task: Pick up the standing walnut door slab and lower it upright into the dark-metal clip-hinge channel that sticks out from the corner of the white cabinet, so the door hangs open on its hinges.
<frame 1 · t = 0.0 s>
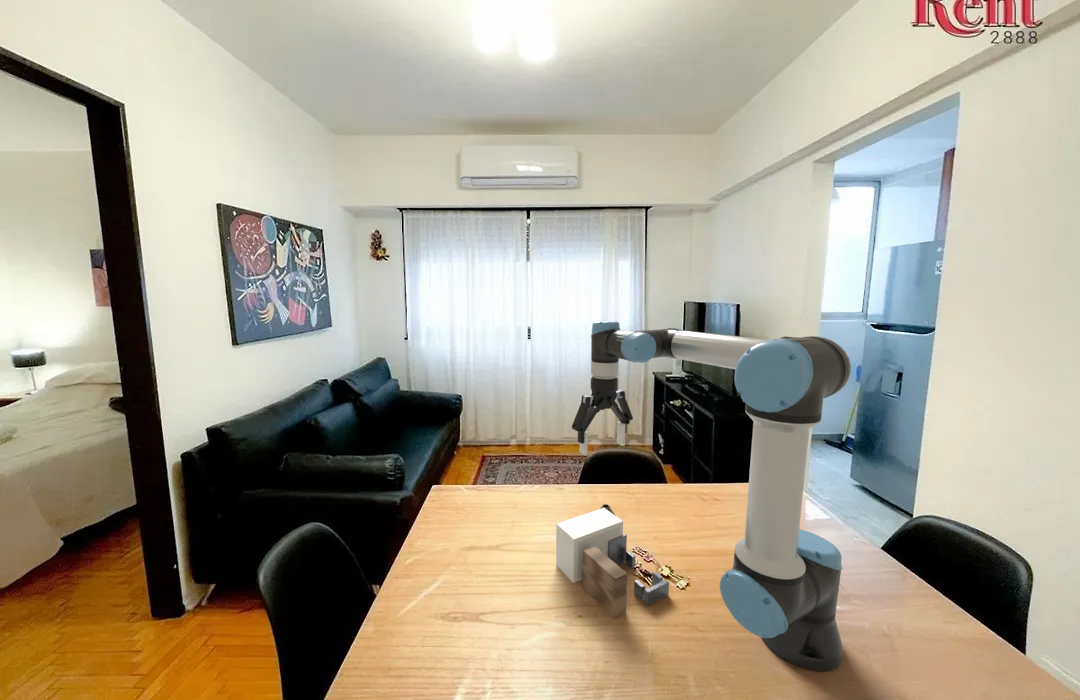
hand: (602, 449, 119), 28 cm above the table, fingers open, 13 cm apart
hinge channel: (634, 580, 105), on the table
door: (603, 599, 99), on the table
cabinet: (589, 563, 112), on the table
vase: (605, 533, 126), on the table
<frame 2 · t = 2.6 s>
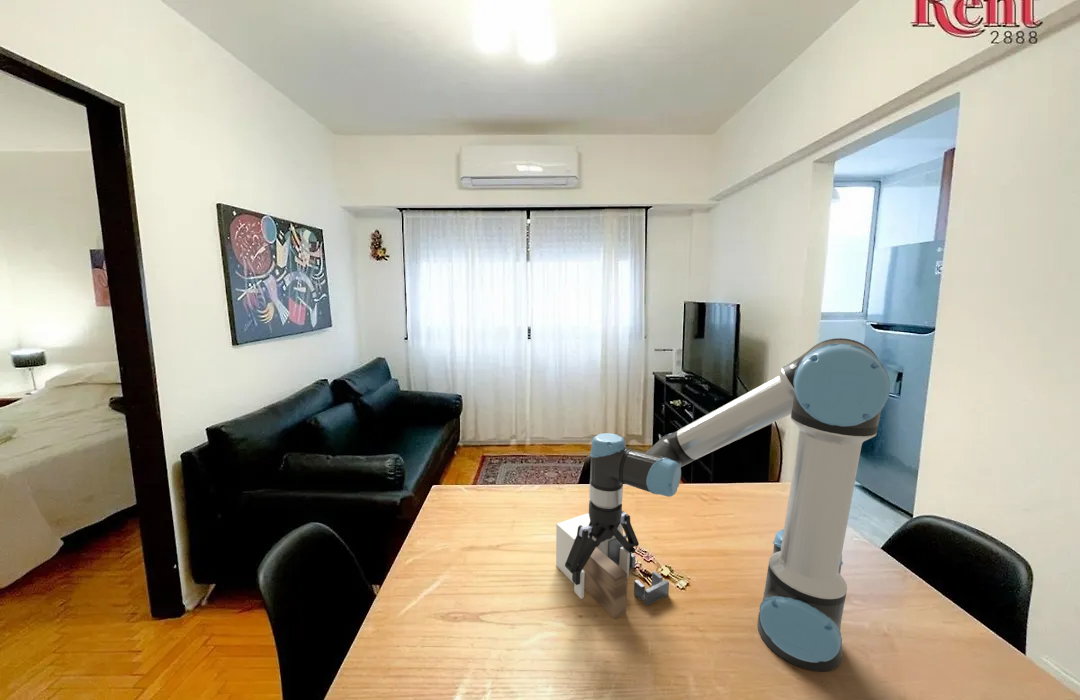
hand: (602, 584, 99), 4 cm above the table, fingers open, 13 cm apart
nothing on the table moved.
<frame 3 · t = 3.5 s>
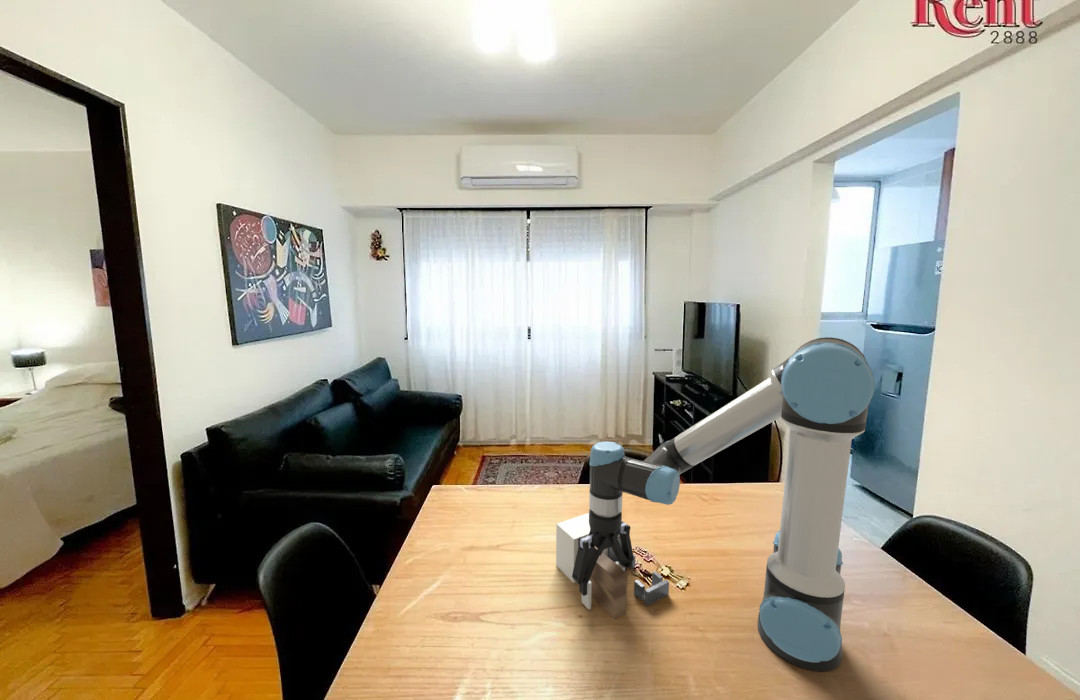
hand: (603, 596, 99), 1 cm above the table, fingers open, 9 cm apart
nothing on the table moved.
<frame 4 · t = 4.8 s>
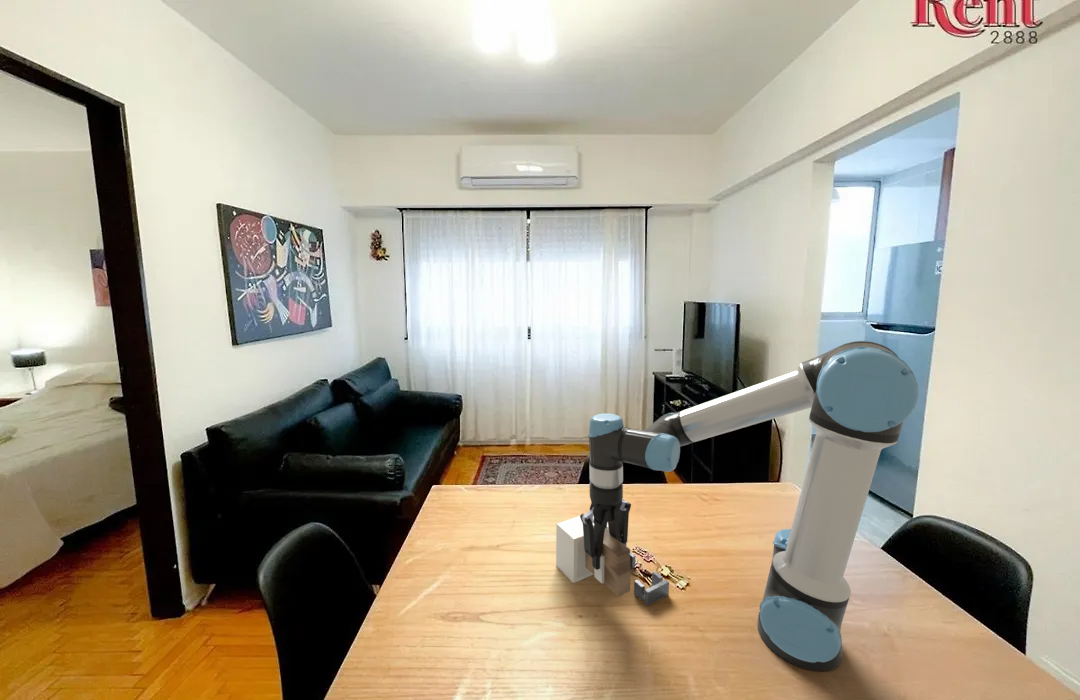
hand: (606, 576, 98), 6 cm above the table, fingers closed on door, 3 cm apart
door: (606, 578, 98), point 6 cm above the table, touching gripper
everything else where it was.
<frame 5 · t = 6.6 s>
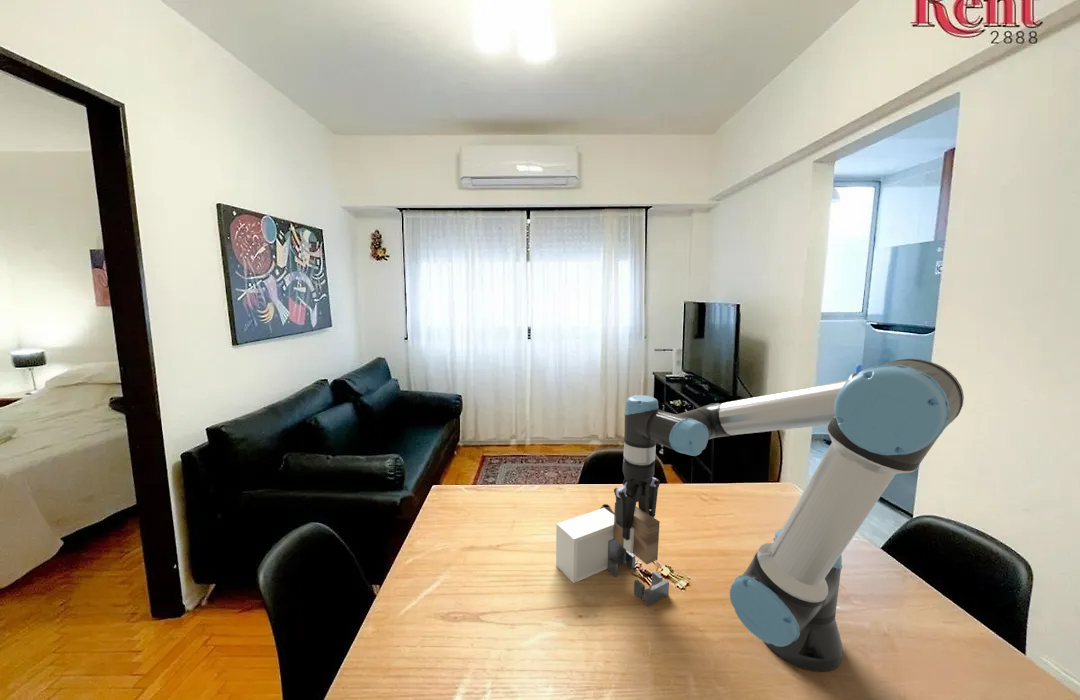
hand: (634, 546, 104), 9 cm above the table, fingers closed on door, 3 cm apart
door: (634, 548, 104), point 9 cm above the table, touching gripper
everything else where it was.
when the fingers open (1 cm above the table, at t = 8.4 s): door stays where it is, resting in hinge channel.
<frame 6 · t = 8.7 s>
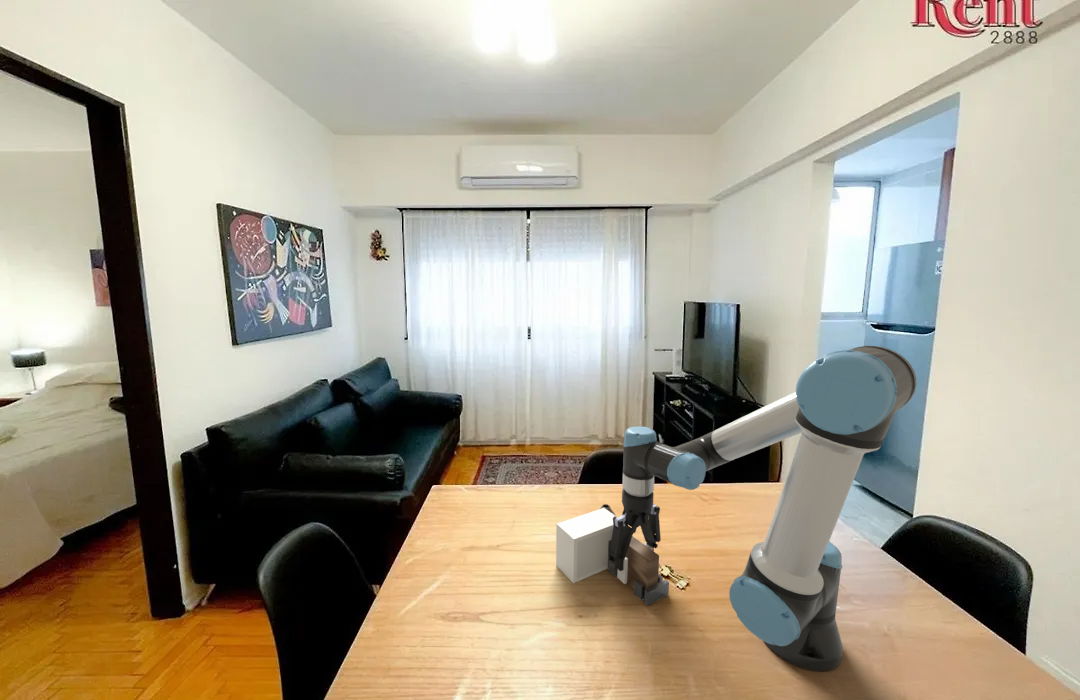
hand: (634, 574, 105), 2 cm above the table, fingers open, 8 cm apart
door: (634, 580, 105), resting in hinge channel
everything else where it was.
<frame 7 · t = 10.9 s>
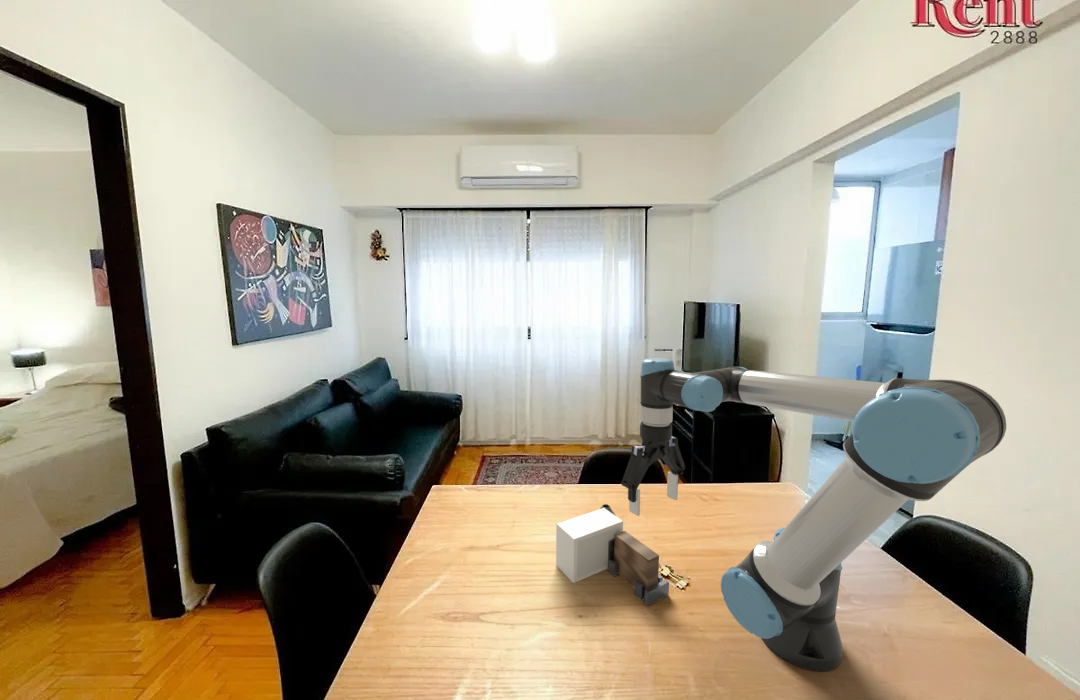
hand: (653, 505, 103), 20 cm above the table, fingers open, 13 cm apart
nothing on the table moved.
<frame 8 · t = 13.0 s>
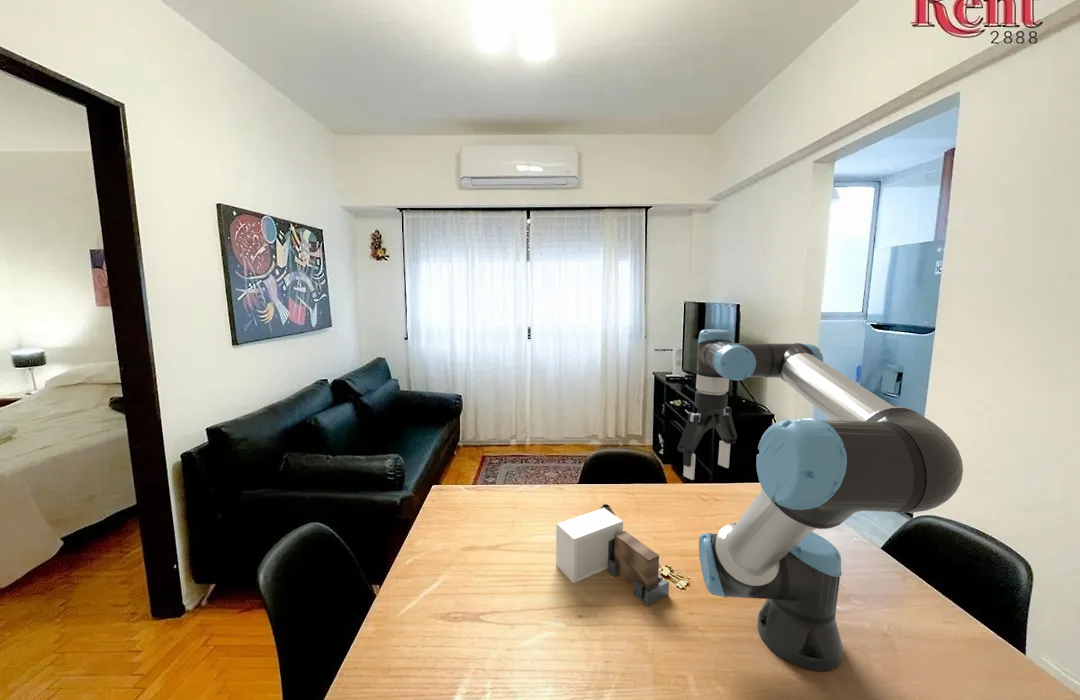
hand: (706, 471, 107), 27 cm above the table, fingers open, 13 cm apart
nothing on the table moved.
at the end: door 0.1 cm off-centre on the hinge channel, point 0.0 cm above the hinge channel's base; door tilted 0°; the gripper is holding nothing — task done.
